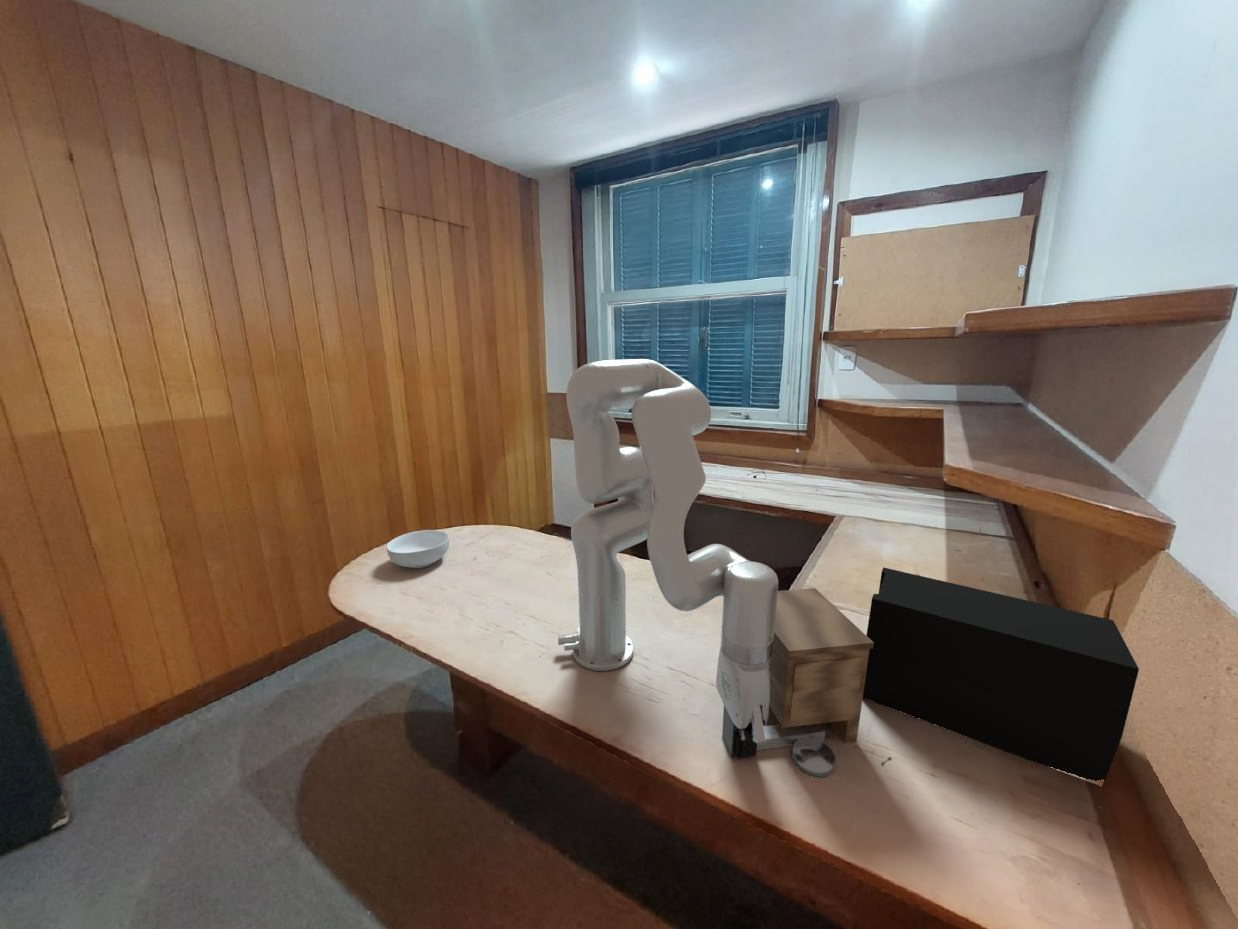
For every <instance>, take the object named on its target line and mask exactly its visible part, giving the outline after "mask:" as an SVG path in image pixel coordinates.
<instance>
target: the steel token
mask: <svg viewBox="0 0 1238 929" xmlns="http://www.w3.org/2000/svg"><path fill="white" fill-rule="evenodd" d="M791 754H792V755H791V756H793V758H792V761H793V760H794V761H793V763H794V762H795V763H794V765H795V764H796V765H795V766H796V767H797V768H798V767H799V768H798V769H799V770H800V771H801V772H802V771H803V772H802V773H804V774H805V773H807V774H808V775H807V774H806V775H807V776H809V775H810V776H809V777H812V776H813V777H812V778H816V779H824V777H825V778H828V777H830V776H831V775H832V774H833V773H834V771H835V762H836V757H835V754H834V752H833V750H832V749H831V748H830V747H829V745H827V744H826V743H825V742H821V741H819V740H817V739H814V738H800V739H798V740H797V741H796V742H795V743H794V745H793V746H792V753H791ZM833 770H834V771H833ZM832 772H833V773H832ZM831 773H832V774H831ZM830 774H831V775H830ZM829 775H830V776H829ZM827 776H828V777H827ZM817 777H818V778H817Z"/></svg>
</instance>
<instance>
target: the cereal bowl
mask: <svg viewBox="0 0 1238 929" xmlns="http://www.w3.org/2000/svg"><path fill="white" fill-rule="evenodd" d="M449 547H450V536H449V534H448V533H446V532H445V531H443V530H439V529H438V530H436V529H426V530H425V529H424V530H416V531H412V532H407V533H404V534H401V535H399V536H397V537H395V538H393V539H391V540H390V541H389V542H388V543H387V544H386V552H387V556H388V558H389V560H390V561H391V562H392V563H394V564H395V565H397V566H399V567H404V568H410V569H421V568H425V567H426V568H427V567H429V566H431V565H433V564H434V563H435V562H437V561H439V560H440V559H442V558H443V557H444V556H445V555H446V553H447V552H448V550H449Z"/></svg>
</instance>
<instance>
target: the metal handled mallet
mask: <svg viewBox="0 0 1238 929" xmlns="http://www.w3.org/2000/svg"><path fill="white" fill-rule="evenodd" d="M821 724H822V723H819V724H811V725H803V726H795V727H787V728H782V726H781V724H780V723H778V724H772V725H771V724H770V725H765V726H764V725H763V728H764V734H765V742H762V743H757V750H759V751H764V750H763V749H766V750H770V749H769V748H773V749H779V748H786V747H787V746H788V747H793V745H794V743H795V742H796V741H797V740H798V739H800V738H814V739H817V740H819V741H821V742H823V743H825V738H826V730H825V729H824V727H823V726H822V725H821ZM747 730H753V728H752V724H749V725H748V726H747V727H746V728H745V731H747ZM721 731H722V732H721V733H722V734H721V735H722V736H721V738H722V741H723V743H724V746H725V747H726V750H727V753H728V754H729V757H730V758H731V759H738V758H737V757H736V755H735V750H736V735H738V734H739V728H738V727H736V726H735V724H734V723H733V721H732V719H731V718H730V716H729V714H728V712H727V710H726V707H725V705H724V704H723V715H722V730H721ZM788 747H787V748H788ZM757 750H756V752H758V751H757Z"/></svg>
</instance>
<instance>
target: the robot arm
mask: <svg viewBox="0 0 1238 929" xmlns="http://www.w3.org/2000/svg"><path fill="white" fill-rule="evenodd" d="M566 403H567V405H566V406H567V411H568V414H569V419H570V422H571V427H572V431H573V432H572V433H573V449H574V452H573V453H574V464H575V465H574V467H575V468H574V470H575V480H576V482H575V483H576V487H577V492H578V494H579V495H578V496H580V498H581V499H582V500H583V501H584V502H586V503H589V504H601V503H606V502H610V501H614V500H617V501H615V502H612V503H608V504H604V505H601V506H597V507H593V508H590V509H588V510H587V511H584V512H583V513H580V515H578V516H577V517H576V518H575V519H574V521H573V523H572V525H571V530H570V535H571V536H570V537H571V540H572V541H571V542H572V546H573V549H574V555H575V559H576V568H577V570H576V571H577V586H578V588H577V589H578V618H579V626H578V627H577V631H576V632H575V631H574V632H572V634H561V635H560V634H559V635H557V640H558V641H557V642H558V643H557V644H558V646H562V645H563V647H564V649H563V650H564V651H566V652H567V651H571V650H572V654H573V658H574V660H575V661H576V662H577V664H579V665H580V666H582V667H584V668H585V669H587V670H588V669H589V670H591V671H598V672H599V671H600V672H601V671H602V672H604V671H606V672H607V671H613V670H616V669H618V668H621V667H623V666H624V665H626V664H628V662H630V661H631V659H632V657H633V655H634V643H633V641H632V640H631V638H630V637H629V636H628V635H627V630H626V629H627V626H626V625H627V624H626V622H627V621H626V620H627V616H626V615H627V614H626V613H627V612H626V605H627V604H626V599H627V597H626V588H627V587H626V573H625V569H624V567H623V565H622V564H621V563H620V561H619V560H618V558H617V555H618V553H620V552H622V551H624V550H626V549H628V548H631V547H634V546H635V545H638V544H640V543H642V542H643V541H646V545H647V546H646V547H647V553H648V558H649V561H650V566H651V567H652V570H653V575H654V577H655V580H656V583H657V585H658V588H659V590H660V592H661V594H662V596H663V598H664V599H665V600H666V602H667V603H668V604H669V605H670V606H671V607H673V608H674V609H675V610H678V611H680V612H691V611H694V610H697V609H698V608H701V607H702V606H704V605H706V604H707V603H709V602H710V601H712V600H713V599H716V598H717V597H722V596H723V597H722V598H723V599H722V618H721V621H722V623H721V633H720V648H719V652H718V660H717V670H716V678H715V685H716V687H715V688H716V690H717V693H718V695H719V697H720V699H721V701H722V703H723V706H724V705H725V707H726V710H727V712H728V714H729V716H730V718H731V719H732V721H733V723H734V724H735V726H736V727H738V728H739V734H738V735H736V750H735V755H736V757H737V758H736V759H743V758H744V759H745V758H752V757H755V756H757V751H756V750H757V743H762V742H765V734H764V728H763V726H767V723H768V721H769V716H770V706H769V705H770V671H769V663H770V661H771V659H772V651H773V640H774V628H775V617H776V605H777V594H778V591H779V579H778V575H777V573H776V572H775V571H774V569H773V568H771V567H770V566H768V565H766V564H764V563H762V562H758V561H752V560H751V561H750V560H749V559H747V558H745V557H744V556H743V555H741V554H739V553H738V552H737V551H735V550H734V549H732V548H730V547H729V546H726V545H724V544H720V543H711V544H708V545H707V546H705V547H703V548H700V549H698V550H696V551H693V552H691V553H690V554H688V553H687V549H686V545H685V539H684V536H685V535H684V531H685V522H686V518H687V516H688V513H689V510H690V508H691V506H692V505H693V503H694V501H695V500H696V498H697V496H698V495H699V494H700V492H701V490H702V489H703V487H704V485H705V483H706V481H707V479H706V478H707V477H706V473H705V471H704V466H703V464H702V460H701V458H700V455H699V452H698V449H697V445H696V442H695V439H694V436H696V435H698V434H701V433H703V432H704V431H706V429H707V428H708V427H709V425H710V423H711V419H712V410H711V405H710V402H709V400H708V398H707V397H706V395H705V394H704V393H703V392H702V391H701V390H700V389H699V388H698V387H697V386H695V384H693V383H691V382H690V381H688V380H687V379H685V378H683V377H682V376H680V375H679V374H678V373H676V372H674V371H673V370H671V369H669V368H668V367H666V366H664V365H663V364H661V363H659V362H658V361H655V360H652V359H646V358H637V359H635V358H634V359H608V360H598V361H593V362H589V363H586V364H583V365H581V366H580V367H578V368H577V369H576V370H575V371H574V372H573V373H572V375H571V376H570V378H569V380H568V383H567V387H566ZM628 408H629V409H630V408H631V420H632V424H633V428H634V431H635V434H636V437H637V441H638V444H639V447H640V449H639V448H638V447H634V446H624V447H620V432H619V427H618V424H617V423H616V420H615V418H614V417H613V415H612V414H611V413H610V411H612V410H620V409H628ZM749 724H752V728H753V730H747V731H745V728H746V727H747V726H748V725H749Z"/></svg>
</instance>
